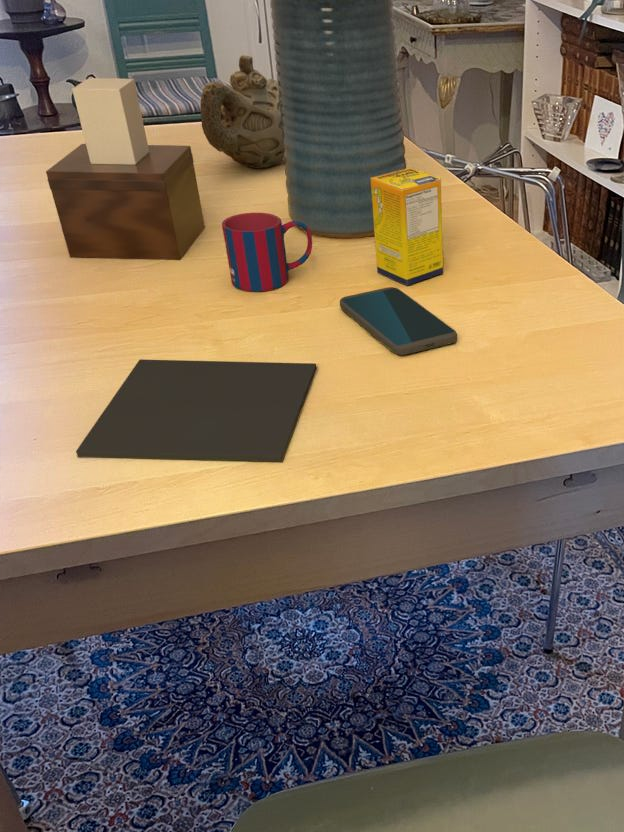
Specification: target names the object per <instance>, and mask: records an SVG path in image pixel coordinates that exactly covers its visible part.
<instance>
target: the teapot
mask: <svg viewBox="0 0 624 832" xmlns="http://www.w3.org/2000/svg"><path fill="white" fill-rule="evenodd" d="M253 61H254V60H253V56H250V55H244V54H243V55H240V56H239V59H238V68H239V70H236V71H234V72H233V73H232V74H230V78H229V84H230V86H231V87H232V88H231V87H230V86H228V85H226V84H224V83H222V82H219V81H217V80H215V81H210V82H207V83H206V84H205V85H204V87H203V90H202V92H201V97H200V102H199V103H200V120H201V129H202V132H203V134H204V136H205V138H206V140H207V142H208V144H209V145H210V146H211V147H212V148H214V149H215V150H216V151H218V152H219V153H223V154H225V155H226V156H228V157H230V158H231V159H232V160H233V161H234V162H235V163H238V164H240V165H241V166H245V167H250V168H256V169H262V168H270V167H273V166H276V165H278V164H280V163H281V162H283V159H284V155H283V147H284V145H283V143H282V133H283V131H282V127H281V124H282V121H281V116H280V115H281V111H280V101H279V91H278V81H277V80H276V79H274V78H269V79H268V78H267V77H265V76H264V75H263V74H262V73H261V72H259V70H257V69H254V65H253V64H254V62H253Z"/></svg>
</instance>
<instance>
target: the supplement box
mask: <svg viewBox="0 0 624 832" xmlns="http://www.w3.org/2000/svg"><path fill="white" fill-rule="evenodd" d="M371 192H372V204H373V219H374V233H375V235H374V243H375V244H374V245H375V260H376V273H377V274H379V275H381V276H384V277H386V278H388V279H390V280H392V281H395V282H397V283H399V284H401V285H404V286H407V287H408V286H410V285H414V284H415V283H419V282H421V281H424V280H427V279H430V278H433V277H435V276H436V277H437V276H439V275H441V274H442V275H443V274H444V251H443V248H444V247H443V216H442V214H443V213H442V212H443V211H442V180H441V177H439V176H435V175H432V174H429V173H426V172H423V171H421V170H417V169H416V168H412V167H408V168H407V167H406V169H403V170H399V171H395V172H392V173H388V174H384V175H380V176H376V177H372V178H371Z"/></svg>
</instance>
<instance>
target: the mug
mask: <svg viewBox="0 0 624 832" xmlns="http://www.w3.org/2000/svg"><path fill="white" fill-rule="evenodd" d="M282 223H283V222H282V219H281V218H280V217H279V216H278V215H275V214H273V213H268V212H244V213H238V214H234V215H231V216H229V217H226V218H225V219H224V220H222V222H221V228H222V234H223V241H224V245H225V252H226V258H227V262H228V263H227V264H228V269H229V274H230V281H231V285H232V286H233V287H234V288H236V289H237V290H241V291H244V292H250V293H251V292H252V293H253V292H254V293H256V292H257V293H258V292H259V293H261V292H268V291H273V290H276V289H280V288H282V287H284V286H285V285H287V283H288V282H289V279H290V278H289V271H292V270H295V269H296V268H298V267H300V266H301V265H303V264H304V263H305V262H307V260H308V259H309V258H310V255H311V254H312V250H313V238H312V234H311V233H310V231H309V229H308V227H307V226H306V225H305V224H304V223H302V222H300V221H292V220H291V221H288V222H286V223H283V224H282ZM298 226H300V227H302V228H303V229H304V230H305V231H304V232H305V234H306V238H307V245H306V246H307V247H306V249H305V252H304V253H303V255H302V256H300V257H299V258H298V259H296V260H294V261H292V262H288V261H287V254H286V253H287V252H286V247H285V233H287V231H288V230H289V229H291V228H293V227H298Z"/></svg>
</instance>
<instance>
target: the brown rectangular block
mask: <svg viewBox="0 0 624 832" xmlns="http://www.w3.org/2000/svg"><path fill="white" fill-rule="evenodd" d="M148 148H149V153H148V154H147V155H146V156H144V157H143V158H142V159H141V160H140V161H139V162H138V163H137V164H136V165H124V164H91V162H90V158H89V154H88V150H87V146H86V143H81V144H79V146H77V147H75V148H74V149H73V150H72V151H70V152H69V153H68V154H67V155H65V156H63V157H62V158H61V159H60V160H59V161H57V162H56V163H55V164H53V165H52V166H51V167H49V168H48V169H47V170H46V171H45V173H46V177H47V183H48V186H49V189H50V191H51V195H52V198H53V202H54V207H55V210H56V212H57V216H58V220H59V223H60V227H61V231H62V234H63V237H64V241H65V245H66V249H67V252H68V255H69V258H84V259H85V258H87V259H90V258H91V259H135V260H137V259H138V260H177V261H179V260H180V261H181V260H182V258H183V257H184V256H185V254H187V252H188V251H189V250H190V248H191V247H192V246H193V244H194V243H195V241H196V240H197V239H198V237H199V236H200V235H201V233H202V232H203V231H204V229H205V228H206V225H205V219H204V213H203V208H202V207H203V206H202V203H201V202H202V201H201V196H200V192H199V186H198V180H197V176H196V170H195V165H194V164H195V163H194V162H195V161H194V157H193V152H192V148H191V145H178V144H177V145H174V144H170V145H169V144H148Z"/></svg>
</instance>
